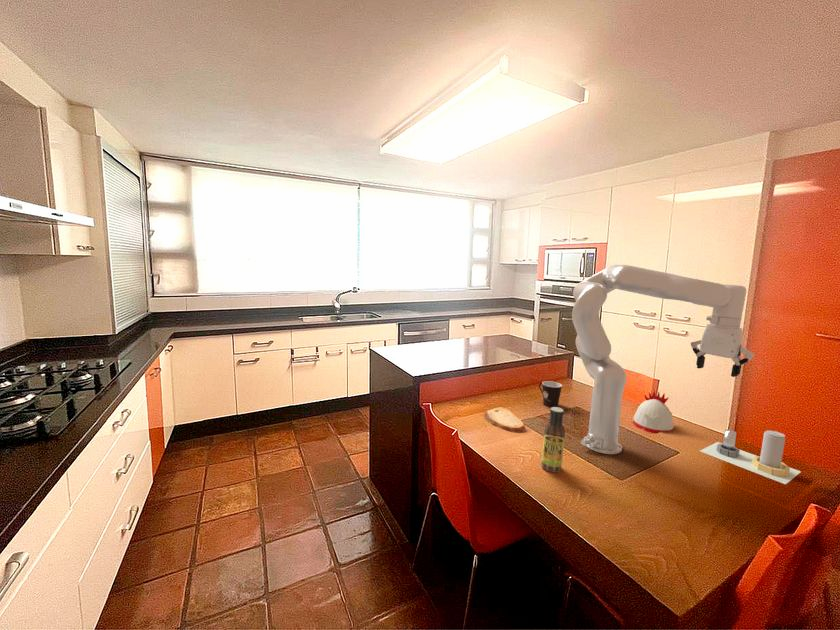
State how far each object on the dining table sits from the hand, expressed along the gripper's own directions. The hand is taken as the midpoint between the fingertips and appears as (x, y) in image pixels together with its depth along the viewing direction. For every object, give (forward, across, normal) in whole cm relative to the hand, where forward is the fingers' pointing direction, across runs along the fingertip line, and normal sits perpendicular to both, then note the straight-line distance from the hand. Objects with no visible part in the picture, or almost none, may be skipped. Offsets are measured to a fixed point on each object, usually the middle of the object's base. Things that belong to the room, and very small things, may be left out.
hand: (716, 372), depth 122 cm
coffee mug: (+32, -57, -11) cm, 66 cm away
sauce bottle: (+32, -18, -54) cm, 66 cm away
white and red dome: (+30, -21, +8) cm, 38 cm away
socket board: (+29, +10, +6) cm, 32 cm away
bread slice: (+33, -52, -43) cm, 76 cm away
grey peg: (+28, +5, +6) cm, 29 cm away
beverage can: (+28, +16, +6) cm, 33 cm away
